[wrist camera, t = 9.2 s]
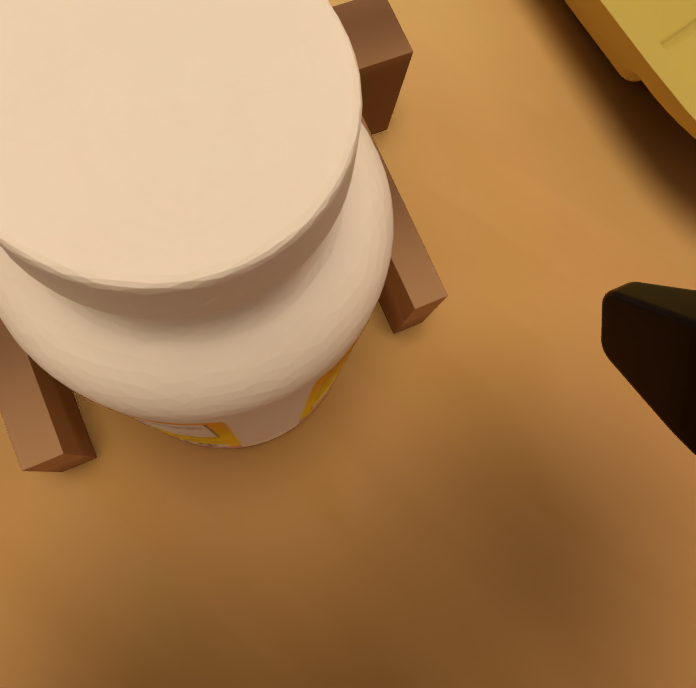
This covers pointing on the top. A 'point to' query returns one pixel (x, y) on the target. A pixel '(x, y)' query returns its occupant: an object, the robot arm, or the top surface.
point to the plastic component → (649, 47)
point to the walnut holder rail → (396, 299)
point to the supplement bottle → (188, 207)
